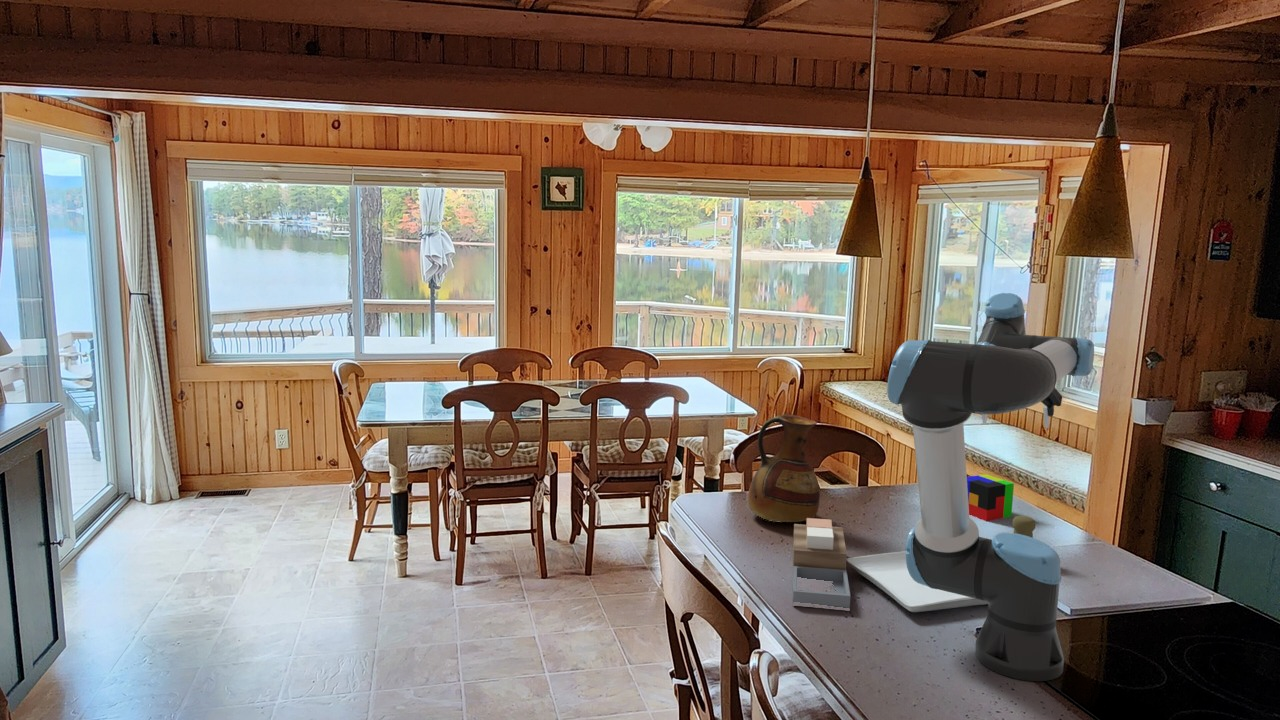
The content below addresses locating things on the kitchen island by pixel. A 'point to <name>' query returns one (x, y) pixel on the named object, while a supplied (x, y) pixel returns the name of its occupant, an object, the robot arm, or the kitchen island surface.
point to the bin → (823, 598)
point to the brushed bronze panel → (819, 551)
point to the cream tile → (820, 538)
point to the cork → (1023, 525)
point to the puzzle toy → (989, 497)
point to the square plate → (906, 584)
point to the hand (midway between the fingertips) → (1015, 421)
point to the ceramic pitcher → (785, 476)
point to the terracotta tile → (818, 523)
